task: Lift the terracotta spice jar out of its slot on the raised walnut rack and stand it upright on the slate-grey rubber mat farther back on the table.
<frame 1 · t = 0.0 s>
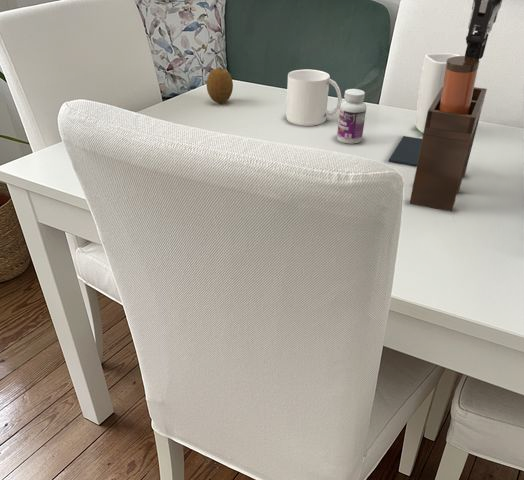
hand: (472, 64, 92), 20 cm above the table, tool pointing down, fingers open, 8 cm apart
mug: (312, 121, 129), on the table
mat: (414, 152, 115), on the table
fruit: (220, 103, 137), on the table
pill bottle: (349, 140, 120), on the table
spice jar: (452, 121, 91), point 13 cm above the table, touching gripper, rack
rack: (438, 189, 102), on the table
cup: (430, 132, 124), on the table
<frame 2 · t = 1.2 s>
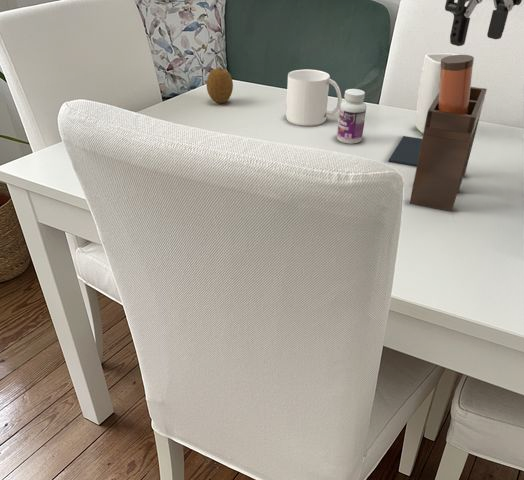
hand: (475, 41, 87), 24 cm above the table, tool pointing down, fingers open, 8 cm apart
spice jar: (452, 120, 91), point 13 cm above the table, tilted 8°, touching rack
everything else where it was.
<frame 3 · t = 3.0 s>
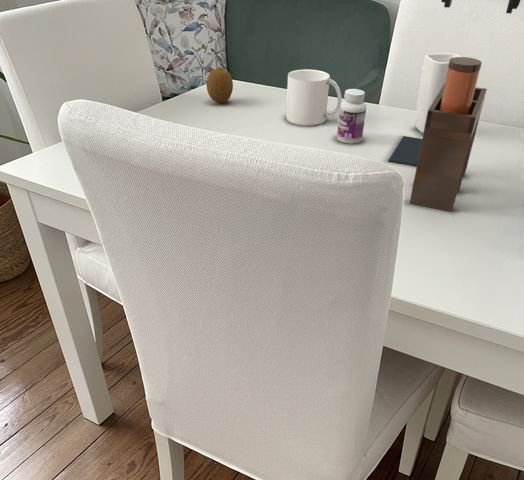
hand: (477, 9, 81), 29 cm above the table, tool pointing down, fingers open, 8 cm apart
spice jar: (451, 122, 91), point 13 cm above the table, touching rack
everything else where it was.
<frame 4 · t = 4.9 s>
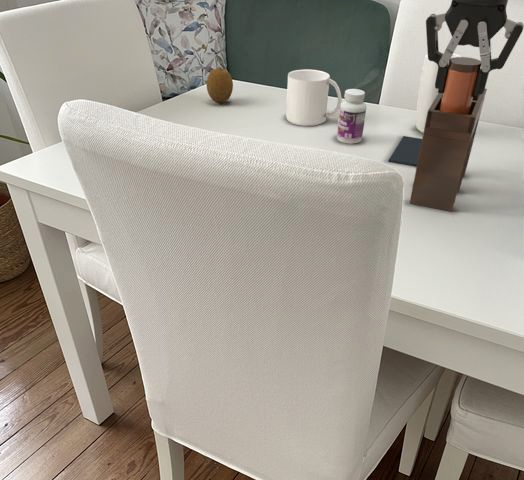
hand: (458, 93, 88), 17 cm above the table, tool pointing down, fingers closed on spice jar, 4 cm apart
spice jar: (451, 122, 91), point 13 cm above the table, touching gripper, rack
everything else where it was.
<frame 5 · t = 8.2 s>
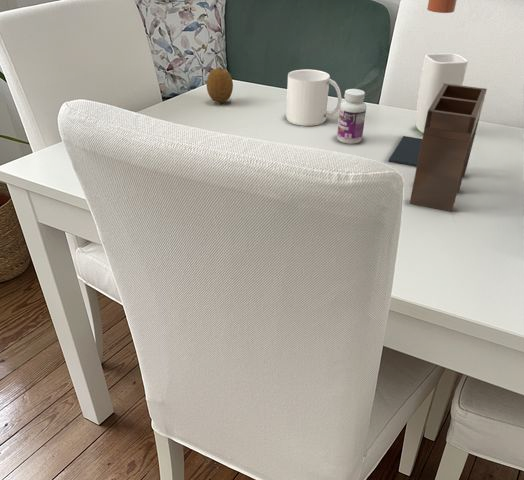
spice jar: (440, 10, 99), point 25 cm above the table, touching gripper
everything else where it was.
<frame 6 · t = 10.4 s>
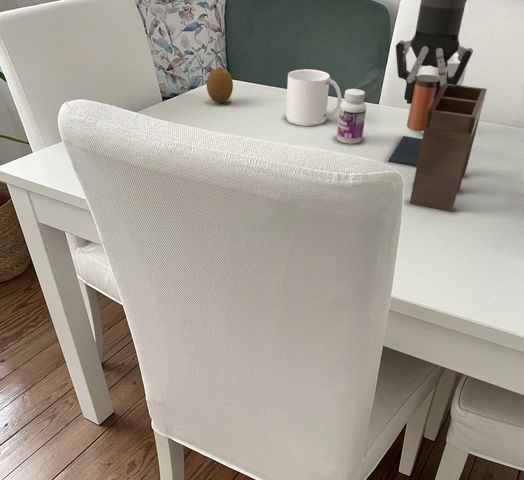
hand: (423, 104, 109), 9 cm above the table, tool pointing down, fingers closed on spice jar, 4 cm apart
spice jar: (418, 127, 112), point 5 cm above the table, touching gripper
everything else where it was.
when the fingers open (5 cm above the table, at t = 12.0 s): spice jar stays where it is, resting on mat.
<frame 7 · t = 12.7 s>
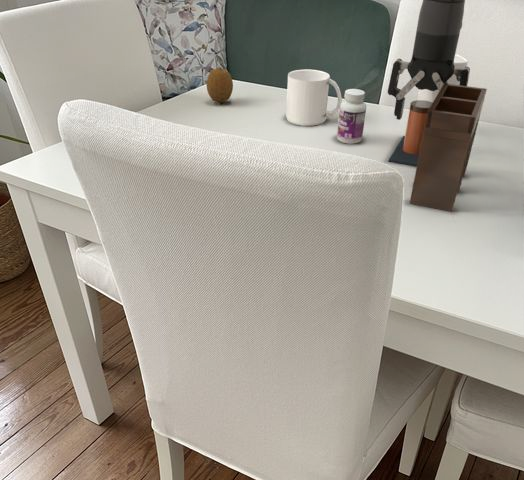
hand: (420, 121, 111), 6 cm above the table, tool pointing down, fingers open, 8 cm apart
spice jar: (414, 150, 115), resting on mat
everything else where it was.
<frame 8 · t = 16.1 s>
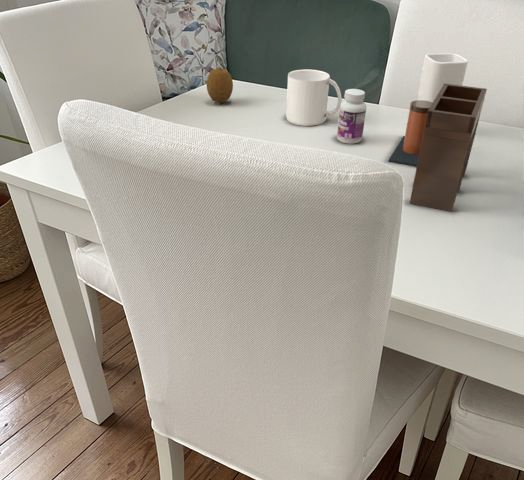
nothing on the table moved.
at the end: spice jar inside the target area on the mat (0.1 cm from its centre), point 0.4 cm above the mat's base; spice jar tilted 0°; the gripper is holding nothing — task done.
